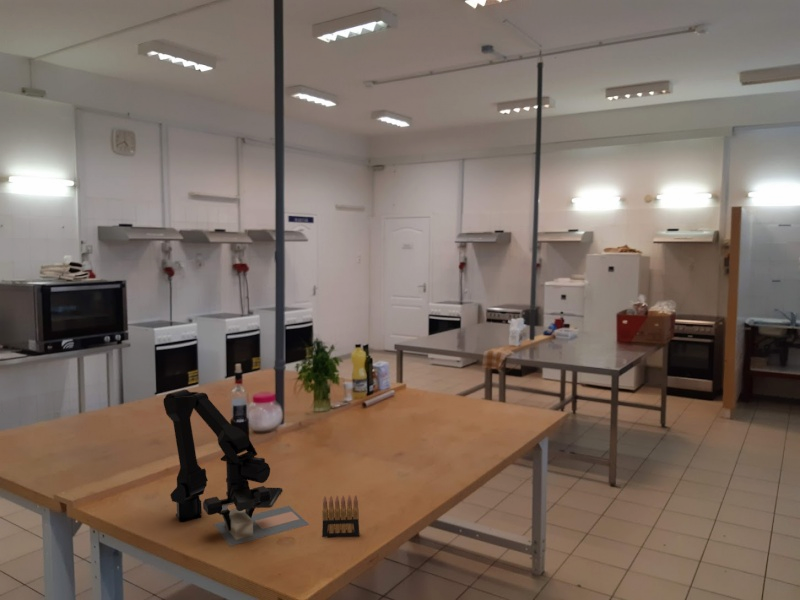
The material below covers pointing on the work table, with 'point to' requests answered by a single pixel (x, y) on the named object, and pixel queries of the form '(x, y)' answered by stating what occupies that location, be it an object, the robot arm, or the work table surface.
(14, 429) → the work table surface
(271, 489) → the phone
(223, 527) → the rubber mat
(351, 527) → the ammunition clip
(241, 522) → the ash block
